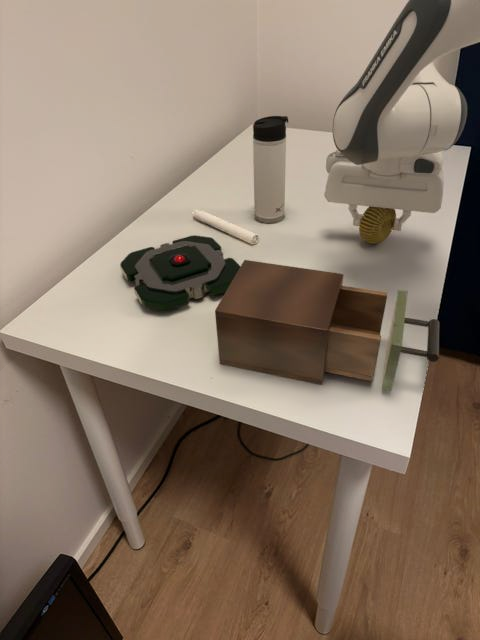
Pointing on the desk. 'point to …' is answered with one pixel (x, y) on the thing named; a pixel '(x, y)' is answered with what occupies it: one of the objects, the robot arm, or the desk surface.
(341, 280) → the cabinet
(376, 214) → the sculpture
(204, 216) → the white rod
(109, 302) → the desk surface
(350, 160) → the robot arm
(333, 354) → the drawer
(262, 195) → the travel mug
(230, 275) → the flat green button pad
